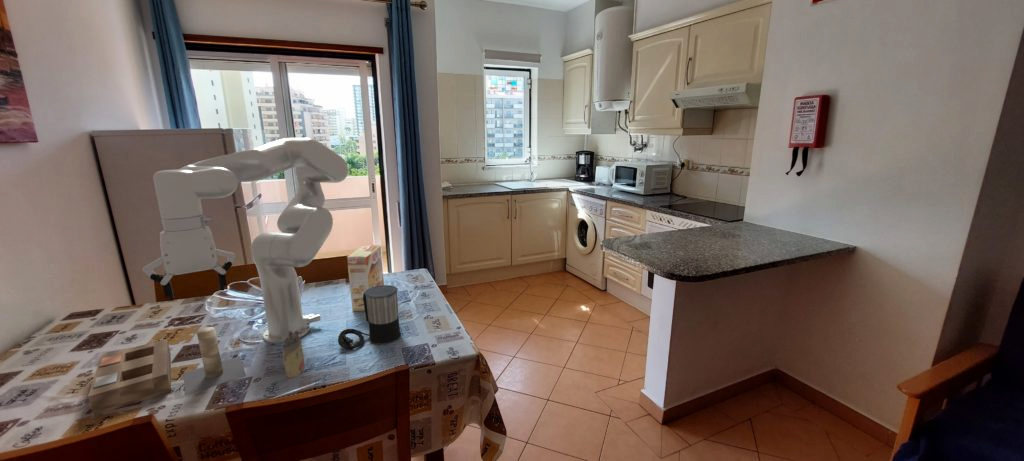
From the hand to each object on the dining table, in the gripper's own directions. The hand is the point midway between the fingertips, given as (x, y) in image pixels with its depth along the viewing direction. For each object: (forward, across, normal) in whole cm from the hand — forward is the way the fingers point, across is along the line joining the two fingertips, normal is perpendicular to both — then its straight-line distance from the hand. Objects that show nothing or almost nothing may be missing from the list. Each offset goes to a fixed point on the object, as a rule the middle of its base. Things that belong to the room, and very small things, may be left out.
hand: (197, 293), depth 98 cm
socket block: (+22, +15, -9) cm, 28 cm away
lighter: (+22, -16, +11) cm, 30 cm away
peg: (+22, 0, 0) cm, 22 cm away
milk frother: (+22, -37, +8) cm, 44 cm away
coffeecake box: (+22, -47, -20) cm, 56 cm away
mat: (+22, 0, 0) cm, 22 cm away
